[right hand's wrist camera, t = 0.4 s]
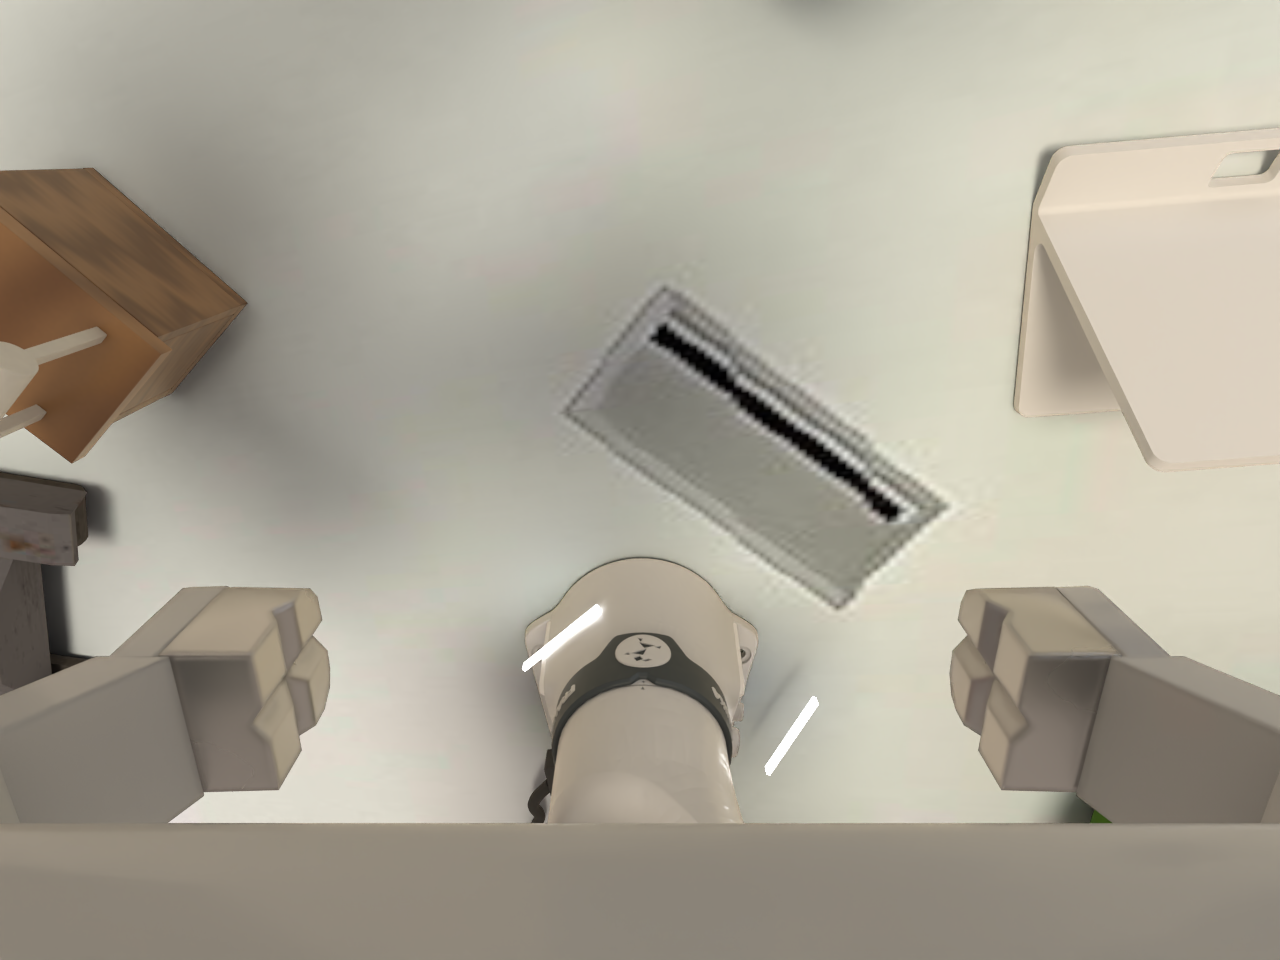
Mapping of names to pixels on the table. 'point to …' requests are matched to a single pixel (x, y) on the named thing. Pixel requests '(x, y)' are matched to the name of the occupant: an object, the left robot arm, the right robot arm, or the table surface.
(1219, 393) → the tablet stand
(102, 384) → the lid
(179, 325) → the chest
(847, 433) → the table surface
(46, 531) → the toy
